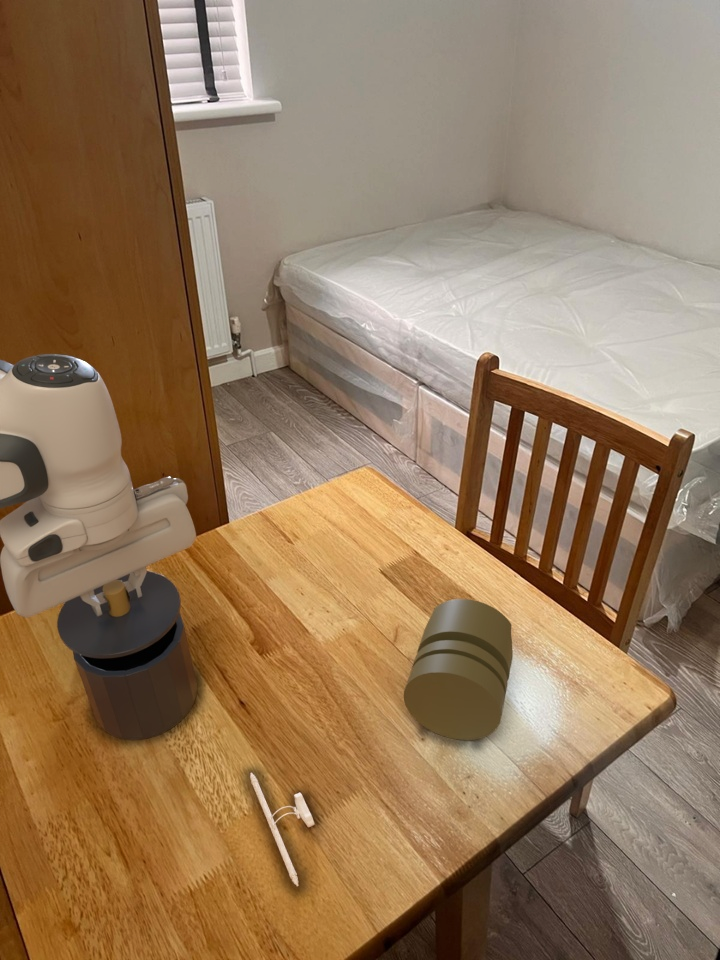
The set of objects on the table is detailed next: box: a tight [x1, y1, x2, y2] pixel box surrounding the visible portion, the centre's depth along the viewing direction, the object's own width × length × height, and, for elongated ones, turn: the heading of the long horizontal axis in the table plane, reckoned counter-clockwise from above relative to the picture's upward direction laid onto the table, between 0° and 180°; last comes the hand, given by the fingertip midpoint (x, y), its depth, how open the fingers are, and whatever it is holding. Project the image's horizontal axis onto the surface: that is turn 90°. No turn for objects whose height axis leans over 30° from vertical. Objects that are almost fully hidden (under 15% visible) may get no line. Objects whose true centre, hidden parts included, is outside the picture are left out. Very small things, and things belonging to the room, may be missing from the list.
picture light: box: [249, 772, 315, 887], centre depth 78 cm, size 14×4×2 cm, turn 26°
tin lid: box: [56, 570, 182, 659], centre depth 83 cm, size 14×14×5 cm
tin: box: [72, 612, 198, 741], centre depth 89 cm, size 13×13×12 cm
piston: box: [403, 598, 514, 741], centre depth 88 cm, size 11×12×11 cm
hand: (117, 603), depth 83 cm, fingers closed on tin lid, 2 cm apart
